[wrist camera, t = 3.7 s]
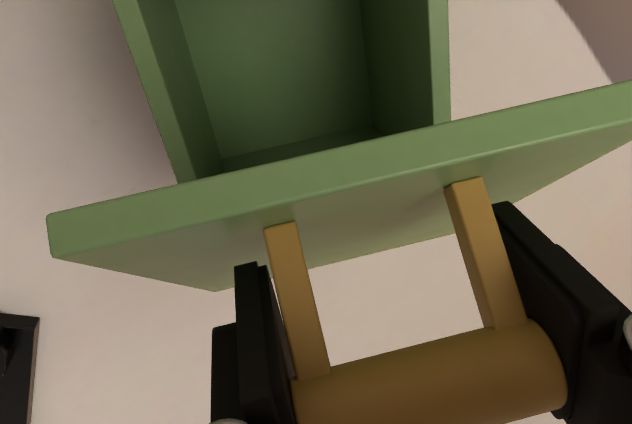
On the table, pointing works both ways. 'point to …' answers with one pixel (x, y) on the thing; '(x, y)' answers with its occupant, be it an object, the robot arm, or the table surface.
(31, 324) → the button housing
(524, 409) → the lid
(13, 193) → the table surface
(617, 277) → the table surface
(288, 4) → the chest
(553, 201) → the table surface
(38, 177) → the table surface
